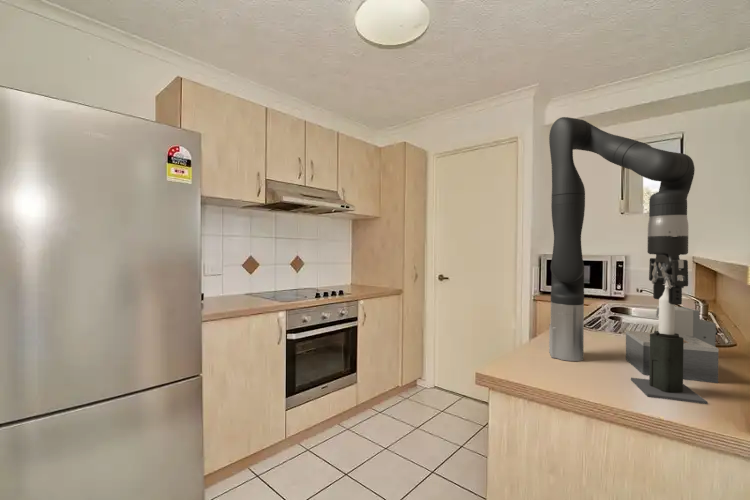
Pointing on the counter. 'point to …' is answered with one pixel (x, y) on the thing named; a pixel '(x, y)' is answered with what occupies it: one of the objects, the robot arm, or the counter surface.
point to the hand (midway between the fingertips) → (666, 301)
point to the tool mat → (656, 393)
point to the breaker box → (696, 356)
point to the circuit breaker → (693, 325)
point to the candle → (666, 350)
